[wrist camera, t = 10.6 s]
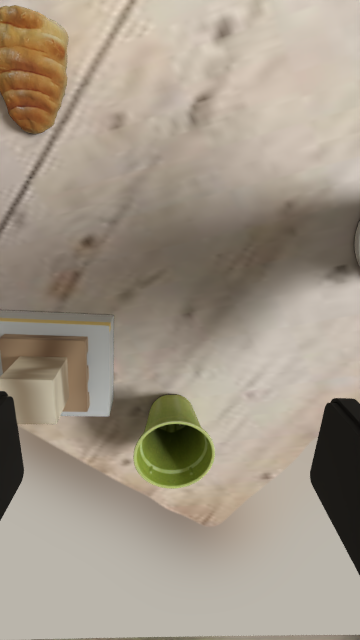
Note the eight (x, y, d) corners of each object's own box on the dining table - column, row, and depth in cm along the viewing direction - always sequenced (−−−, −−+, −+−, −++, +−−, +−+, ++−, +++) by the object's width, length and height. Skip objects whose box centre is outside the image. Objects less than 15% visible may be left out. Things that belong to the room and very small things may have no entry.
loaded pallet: (87, 336, 35) (73, 361, 29) (89, 405, 38) (77, 440, 32) (4, 333, 35) (-28, 359, 28) (12, 404, 37) (-15, 440, 31)
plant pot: (123, 415, 44) (116, 461, 36) (168, 369, 42) (172, 407, 34) (172, 450, 46) (176, 500, 38) (217, 408, 44) (231, 452, 36)
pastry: (70, 140, 33) (59, 131, 29) (3, 131, 32) (-17, 120, 29) (71, 30, 30) (59, 5, 26) (-3, 17, 29) (-26, -11, 26)
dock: (114, 314, 39) (109, 325, 35) (113, 398, 43) (109, 416, 39) (-5, 309, 38) (-23, 320, 34) (5, 396, 41) (-10, 414, 38)
